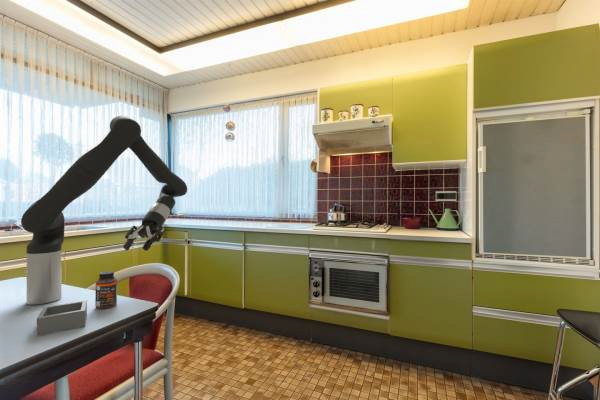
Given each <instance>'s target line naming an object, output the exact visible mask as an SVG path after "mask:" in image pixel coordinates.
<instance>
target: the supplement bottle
mask: <svg viewBox="0 0 600 400" xmlns="http://www.w3.org/2000/svg"><path fill="white" fill-rule="evenodd" d="M98 277H99V278H98V279H97V280H96V281H95V301H94V303H95V304H94V306H95V308H96V309H98V310H107V309H112V308H114V307H116V305H118V279H117V277H116V276H115V272H114V271H112V270H110V271H108V270H107V271H103V272H102V271H101V272H99V276H98Z"/></svg>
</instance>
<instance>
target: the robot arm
mask: <svg viewBox="0 0 600 400" xmlns="http://www.w3.org/2000/svg"><path fill="white" fill-rule="evenodd" d="M109 129H110V131H109V132H108V133H107V134H106V136H105V137H104V138H103V139H102V140H101V141H100V142H99V143H98V144H97V145H96V146H94V147H93V148H91V149H90V150H88V151H86V152H85V153H83V154H82V155H81V156H79V158H78V159H76V161H74V163H73V164H72V165H71V166H70V167H69V168H67V170H66V171H65V172H64V173H63V175H62V176H61V177H60V178H58V180H57V181H56V182H55V184H53V186H52V187H51V188H50V189H49V190H48V191H47V192H46V193H45V194H44V195H43V196H42V197H40V198H39V199H38V200H37V201H36V202H35V203H33V204H32V205H31V206H30V207H28V208H27V209H26V211H25V212H23V214H22V216H21V219H20V223H21V227H22V228H23V229H24V231H26V232H28V233H32V238H31V240H30V242H29V243H27V245H26V250H25V251H26V254H25V255H26V257H25V258H26V262H25V263H26V294H25V296H26V304H27V305H32V306H33V305H43V304H48V303H53V302H56V301H58V300H60V299H62V248H63V247H62V246H63V244H64V240H65V226H66V225H65V224H66V223H65V221H66V220H65V215H64V213H63V212H64V210H65V209H66V207H68V206H69V205H70V204H71V203H72V202H74V201H75V200H76V199H78V198H80V197H81V196H82V195H84V194H85V193H87V192H88V191H89V190H91V189H92V188H93V187H94V186H95V185H96V184H97V183H98V182H99V181H100V179H102V177H103V176H104V175H105V174H106V172H107V171H108V170H109V169H110V168H111V167H112V165H114V163H115V161H116V160H117V159H118V158H119V157H120V156H121V155H122V154H123V153H125V152H126V150H128V148H129V149H130V151H132V153H133V154H134V155H135V156H136V157H137V158H138V160H139V161H140V162H141V163H142V165H143V166H144V168H145V169H147V171H148V172H149V174H151V176H152V177H153V178H154V179H155V180H156V181H157V182H158V183H160V184H163V185H162V187H161V190H160V193H159V196H158V198H157V200H156V201H155V203H154V204H153V205H151V207H149V210H148V211H147V212H146V214H145V215H144V216H143V218H142V220H141V225H139V226H136V225H133V226H131V228H130V229H129V230H128V232H127V233H126V234H125V236H124V238H125V239H126V242H125V243H124V244H123V246H122V247H123V249H124V251H129V250H130V248H131V247H132V245H133V244H134V243H135V242H136V241H137V240H138V241H139V240H141V239H142V238H143V239H144V238H147V240H146V241H145V243H144V244H143V245H142V246H141V247H142V250H143V251H144V252H147V251H148V250H149V249H150V248H151V246H152V245H153V244H154V243H155V242H160V241H161V238H162V237H163V235H164V234H165V231H166V229H165V228H164V226H163V225H164V224H165V223H166V221H167V220H168V217H169V216H170V213H171V212H172V210H173V209H174V207H175V205H176V200H175V198H179V197H182V196H185V195H186V194H187V193H188V185H187V183H186V182H185V181H184V180H183V179H182V178H181V177H180V176H178V175H177V174H175V173H174V172H172V170H171V169H170V168H169V167H168V165H167V164H166V163H165V162H164V161H163V159H162V158H161V157H160V156H159V155H158V154H157V153H156V152H155V151H154V150H153V149H152V148H151V147H150V146H149V144H148V143H147V142H146V141H145V139H144V138H143V136H142V135H141V134H142V127H141V125H140V124H139V122H137V120H135V119H134V118H131V117H129V116H125V115H117V116H115V117H113V118H112V119H111V120H110V122H109ZM137 234H138V235H137Z"/></svg>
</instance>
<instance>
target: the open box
mask: <svg viewBox="0 0 600 400" xmlns="http://www.w3.org/2000/svg"><path fill="white" fill-rule="evenodd" d="M87 317H88V300H87V299H84V300H80V301H74V302H68V303H60V304H56V305H49V306H43V307H42V309H41V310H40V312H39V314H38V316H37V318H36V337H40V336H44V335H49V334H54V333H59V332H65V331H69V330H74V329H80V328H84V327H86V322H87Z"/></svg>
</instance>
